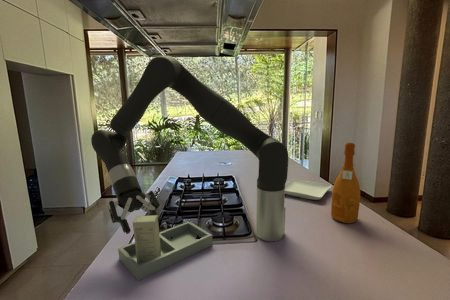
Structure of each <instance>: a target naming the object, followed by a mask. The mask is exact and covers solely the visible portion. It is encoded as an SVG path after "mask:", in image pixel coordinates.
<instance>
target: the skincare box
mask: <svg viewBox="0 0 450 300" xmlns="http://www.w3.org/2000/svg"><path fill="white" fill-rule="evenodd" d="M158 218H159V215H158V214H157V215H150V214H149V215H137V216H136V217H135V218H134V220H133V221H132V229H133V237H134V238H133V239H134V242H135V248H136V257H137V261H150V260H152V259H155V258H157V257H159V256H160V254H161V246H160V235H159V232H160V225H159V220H158Z"/></svg>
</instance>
